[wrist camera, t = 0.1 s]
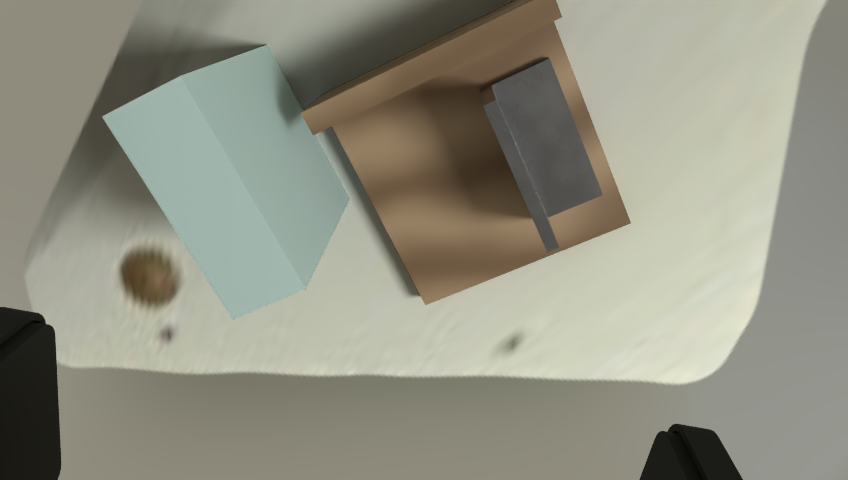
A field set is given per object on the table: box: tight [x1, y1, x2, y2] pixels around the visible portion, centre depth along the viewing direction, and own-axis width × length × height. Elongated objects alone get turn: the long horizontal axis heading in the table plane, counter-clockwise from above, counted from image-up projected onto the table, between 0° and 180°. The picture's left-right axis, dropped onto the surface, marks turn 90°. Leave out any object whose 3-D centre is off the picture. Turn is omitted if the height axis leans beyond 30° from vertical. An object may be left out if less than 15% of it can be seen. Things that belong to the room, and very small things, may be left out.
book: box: [102, 45, 350, 319], centre depth 40 cm, size 12×4×15 cm, turn 25°
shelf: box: [301, 0, 631, 305], centre depth 43 cm, size 17×16×6 cm
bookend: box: [480, 57, 603, 252], centre depth 41 cm, size 10×5×6 cm, turn 25°
